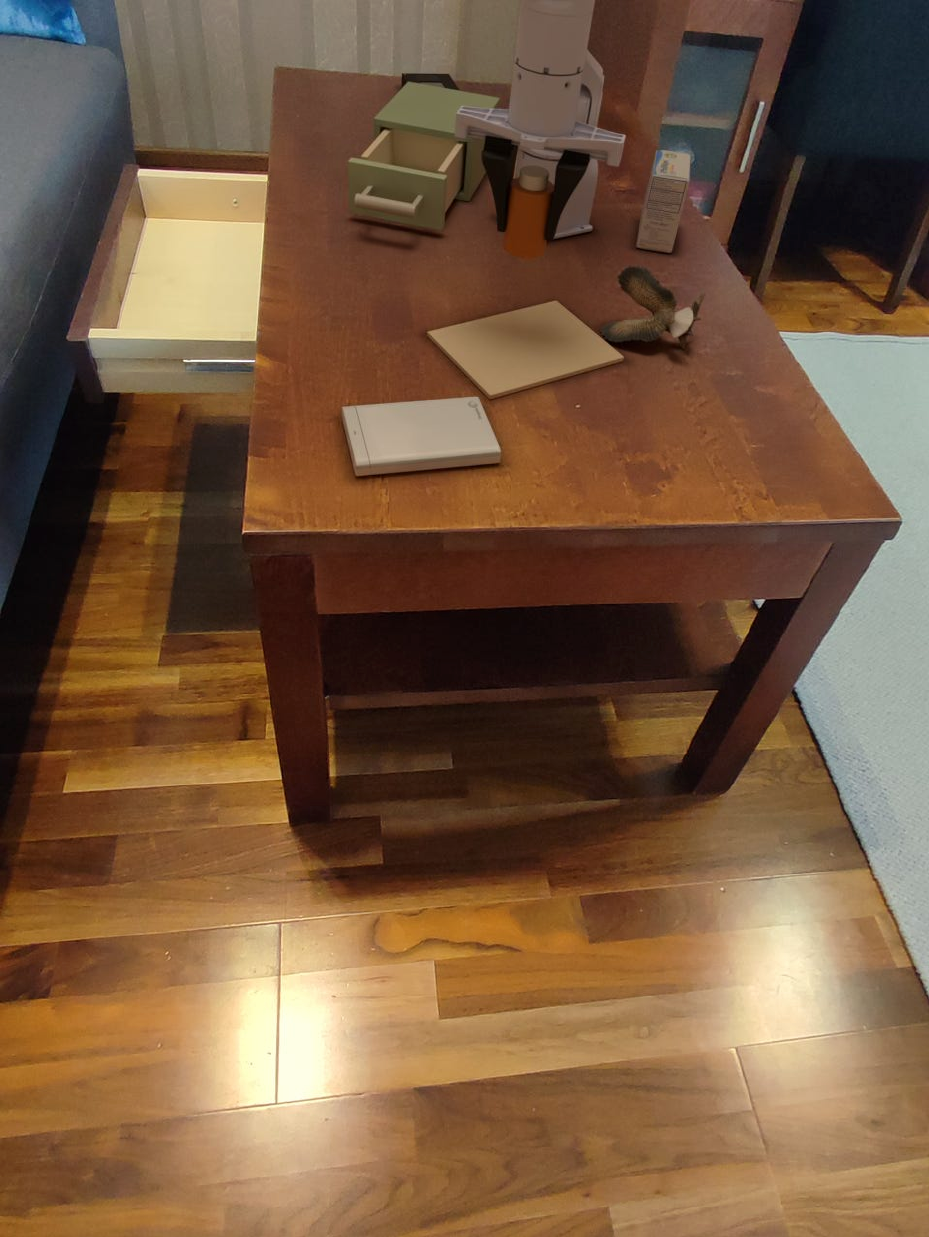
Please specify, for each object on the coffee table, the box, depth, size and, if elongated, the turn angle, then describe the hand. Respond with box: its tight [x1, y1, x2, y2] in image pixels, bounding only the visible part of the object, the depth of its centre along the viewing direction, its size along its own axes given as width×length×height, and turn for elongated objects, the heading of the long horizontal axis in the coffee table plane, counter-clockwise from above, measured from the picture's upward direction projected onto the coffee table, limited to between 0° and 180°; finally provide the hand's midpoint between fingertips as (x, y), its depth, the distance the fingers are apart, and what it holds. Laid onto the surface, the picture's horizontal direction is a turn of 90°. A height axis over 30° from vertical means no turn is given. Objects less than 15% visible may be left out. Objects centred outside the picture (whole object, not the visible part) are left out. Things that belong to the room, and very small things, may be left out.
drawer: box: [347, 127, 467, 231], centre depth 99 cm, size 18×11×6 cm, turn 166°
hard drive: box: [341, 396, 502, 477], centre depth 72 cm, size 2×8×12 cm
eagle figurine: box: [599, 265, 706, 350], centre depth 85 cm, size 8×7×9 cm
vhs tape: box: [400, 72, 461, 91], centre depth 126 cm, size 8×14×2 cm, turn 14°
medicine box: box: [635, 149, 692, 254], centre depth 100 cm, size 8×4×9 cm, turn 168°
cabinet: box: [373, 82, 501, 202], centre depth 108 cm, size 15×13×8 cm
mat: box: [426, 300, 625, 400], centre depth 84 cm, size 16×12×1 cm
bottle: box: [502, 165, 554, 260], centre depth 76 cm, size 4×4×7 cm
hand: (526, 231), depth 78 cm, fingers closed on bottle, 4 cm apart
